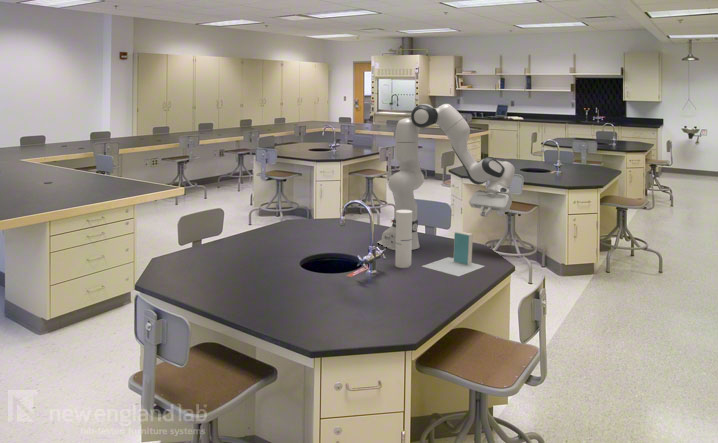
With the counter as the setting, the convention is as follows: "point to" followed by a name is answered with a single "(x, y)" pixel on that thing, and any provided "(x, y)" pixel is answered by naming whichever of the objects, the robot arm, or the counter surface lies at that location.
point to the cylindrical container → (403, 238)
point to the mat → (452, 267)
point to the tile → (463, 247)
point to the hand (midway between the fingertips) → (483, 215)
